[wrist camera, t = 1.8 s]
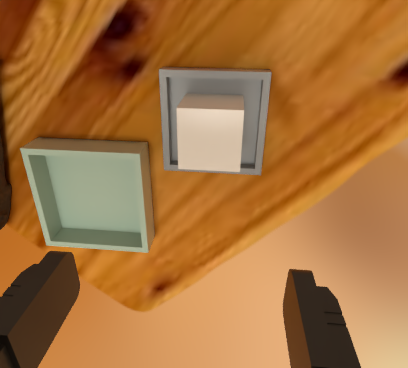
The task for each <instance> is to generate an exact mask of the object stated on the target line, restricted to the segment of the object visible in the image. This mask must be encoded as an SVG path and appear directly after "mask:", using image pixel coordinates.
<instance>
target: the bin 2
mask: <svg viewBox="0 0 408 368" xmlns="http://www.w3.org/2000/svg"><path fill="white" fill-rule="evenodd" d="M271 73H272V72H271V70H270V69H231V68H191V67H162V68H160V69H159V83H160V102H161V121H162V140H163V159H164V170H171V171H191V172H210V173H230V174H249V175H261V169H262V159H263V150H264V140H265V130H266V121H267V111H268V102H269V92H270V82H271ZM186 93H190V94H221V95H243V98H244V121H243V135H242V149H241V164H240V172H228V171H208V170H188V169H178V144H177V110H176V108H177V106H178V105H179V103H180V102H181V100H182V99H183V97H184V96H185V94H186Z"/></svg>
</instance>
